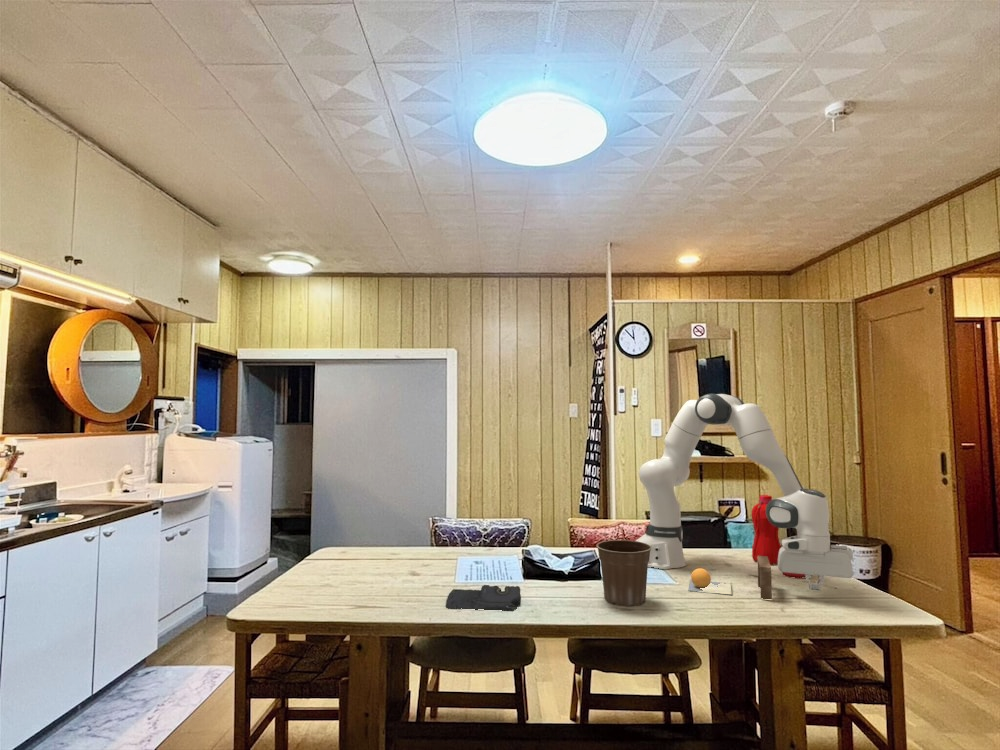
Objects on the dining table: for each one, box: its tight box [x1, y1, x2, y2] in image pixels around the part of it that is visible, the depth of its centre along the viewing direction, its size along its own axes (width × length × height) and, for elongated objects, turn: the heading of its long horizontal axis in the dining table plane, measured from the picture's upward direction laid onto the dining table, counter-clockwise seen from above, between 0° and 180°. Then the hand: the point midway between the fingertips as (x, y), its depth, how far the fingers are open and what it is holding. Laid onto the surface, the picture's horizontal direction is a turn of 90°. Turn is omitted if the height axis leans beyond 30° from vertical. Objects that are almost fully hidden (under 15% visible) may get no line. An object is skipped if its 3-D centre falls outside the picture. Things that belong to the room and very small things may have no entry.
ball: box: [690, 567, 712, 588], centre depth 188 cm, size 6×6×6 cm
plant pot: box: [596, 539, 652, 607], centre depth 176 cm, size 16×16×16 cm
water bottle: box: [751, 494, 781, 566], centre depth 222 cm, size 9×11×25 cm
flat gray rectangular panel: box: [687, 579, 732, 592], centre depth 188 cm, size 13×13×1 cm
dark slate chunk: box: [445, 584, 522, 612], centre depth 173 cm, size 15×22×5 cm
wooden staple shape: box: [757, 556, 773, 600], centre depth 183 cm, size 3×15×10 cm, turn 159°
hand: (814, 589), depth 178 cm, fingers closed
